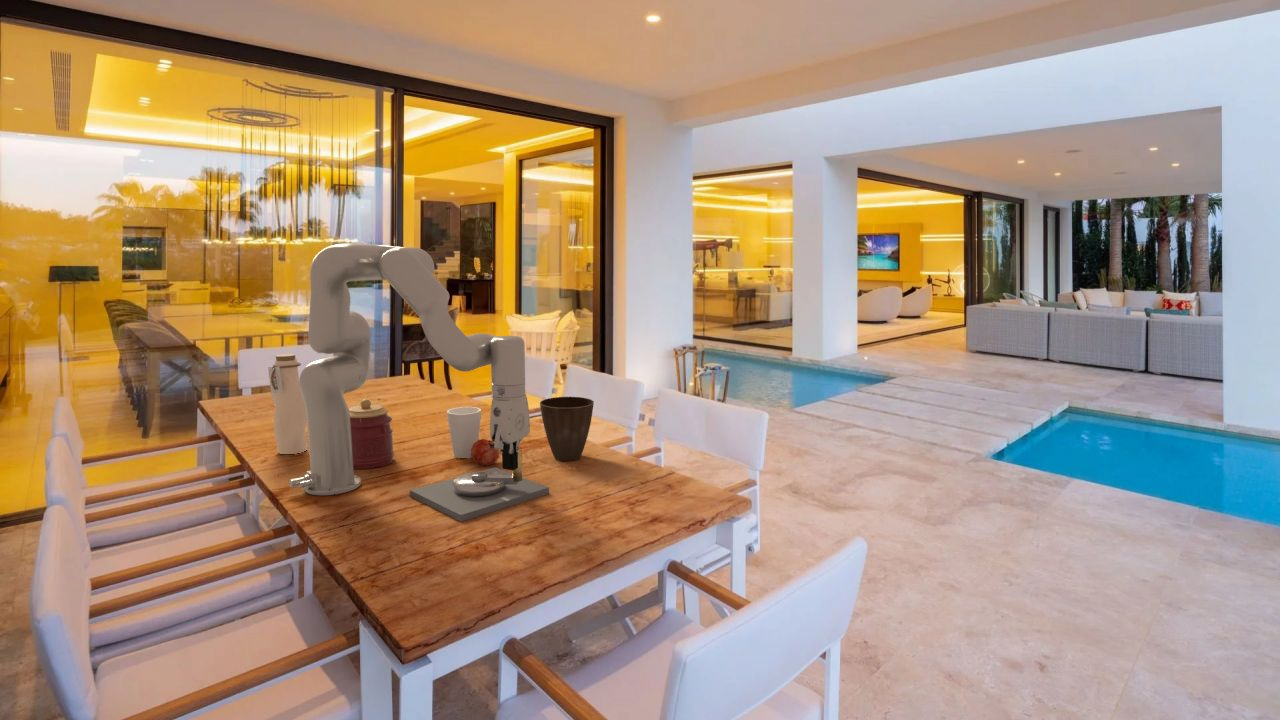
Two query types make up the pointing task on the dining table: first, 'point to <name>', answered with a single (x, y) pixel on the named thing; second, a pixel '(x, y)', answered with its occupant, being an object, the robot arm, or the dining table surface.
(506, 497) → the base
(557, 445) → the plant pot
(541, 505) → the dining table surface
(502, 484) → the crank handle
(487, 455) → the pomegranate
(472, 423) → the foam cup
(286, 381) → the water bottle
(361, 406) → the canister
